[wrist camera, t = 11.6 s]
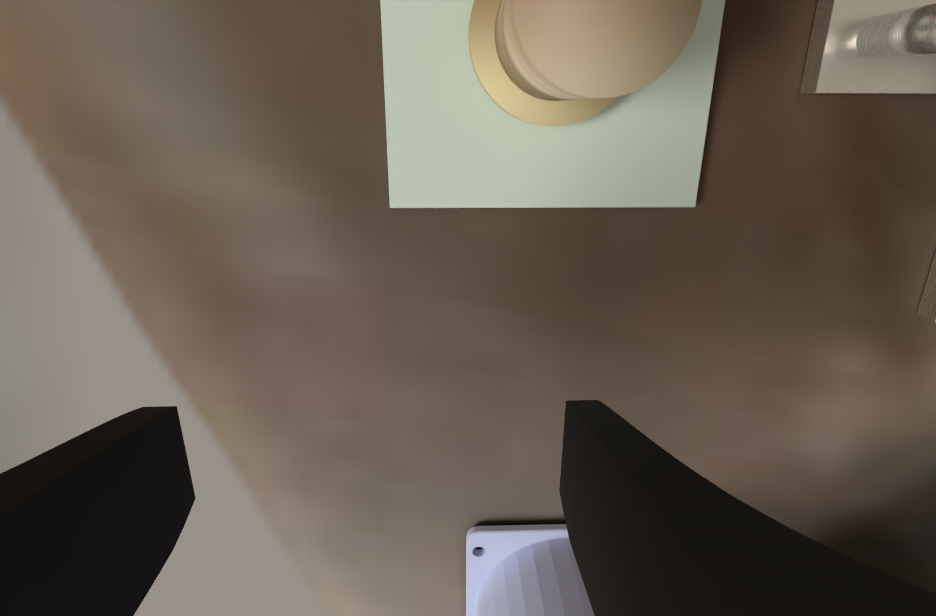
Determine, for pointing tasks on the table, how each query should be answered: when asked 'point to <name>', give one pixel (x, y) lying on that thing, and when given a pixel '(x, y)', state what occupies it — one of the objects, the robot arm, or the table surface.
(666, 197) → the sage mat
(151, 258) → the table surface
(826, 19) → the wire frame
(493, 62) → the ringed peg
